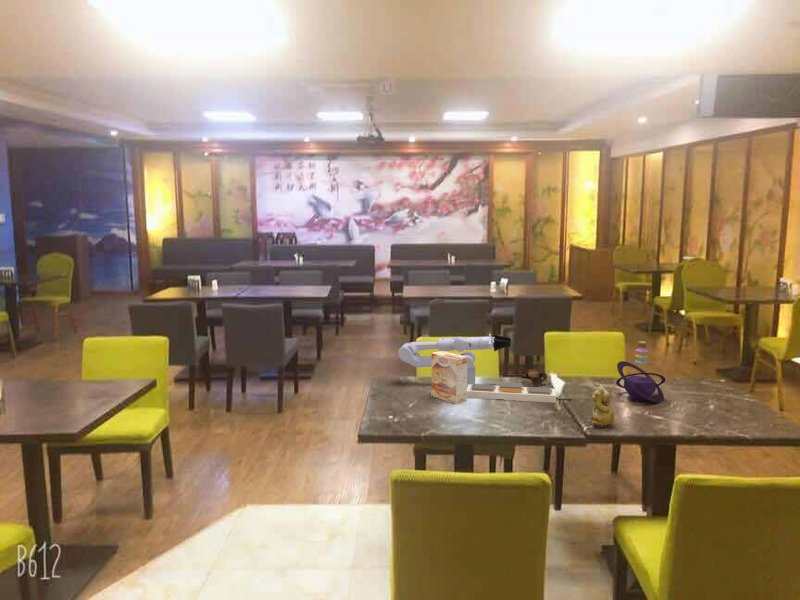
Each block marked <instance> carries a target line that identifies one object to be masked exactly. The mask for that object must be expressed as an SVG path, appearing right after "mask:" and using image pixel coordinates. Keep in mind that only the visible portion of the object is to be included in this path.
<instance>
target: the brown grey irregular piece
mask: <svg viewBox="0 0 800 600" xmlns="http://www.w3.org/2000/svg"><path fill="white" fill-rule="evenodd" d="M543 376H544V377H543ZM520 379H521V380H522V379H524V380H530V381H528V387H541V384H543V382H546V380H547V379H548V375H547V373H546V372H545V371H541V372H539V371H538V369H537V368H535V369H534V368H532V369H527V370H524V371H522V372H521V377H520Z"/></svg>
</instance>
